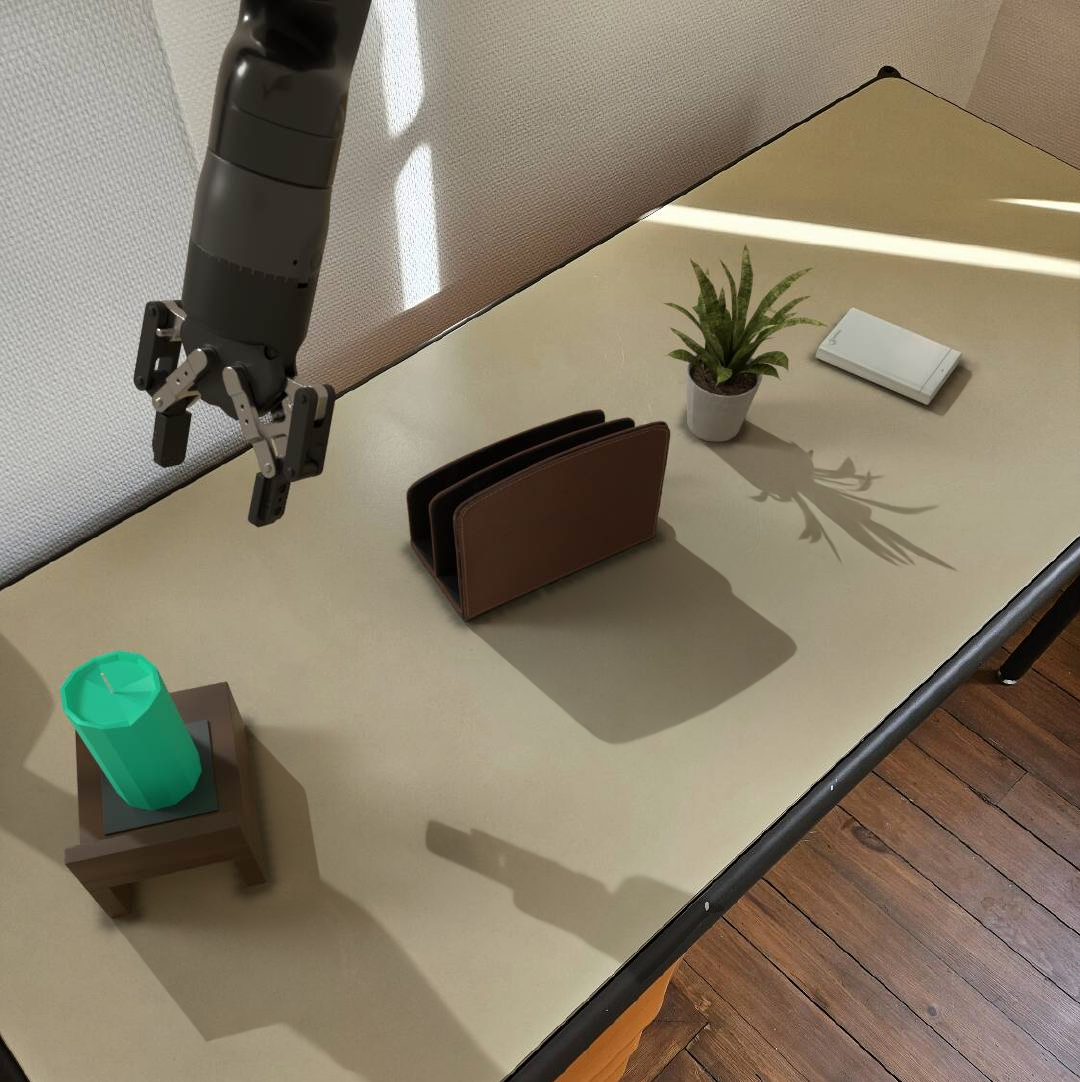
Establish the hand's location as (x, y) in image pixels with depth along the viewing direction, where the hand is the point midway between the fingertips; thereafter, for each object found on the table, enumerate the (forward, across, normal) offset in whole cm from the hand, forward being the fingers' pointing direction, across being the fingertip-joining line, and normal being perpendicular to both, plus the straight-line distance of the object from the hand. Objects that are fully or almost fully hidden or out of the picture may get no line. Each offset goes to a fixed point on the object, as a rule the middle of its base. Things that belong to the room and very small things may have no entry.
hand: (214, 493), depth 71 cm
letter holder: (+6, +11, +29) cm, 32 cm away
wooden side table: (+24, +5, -4) cm, 24 cm away
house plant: (-6, +17, +50) cm, 53 cm away
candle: (+18, +5, -7) cm, 20 cm away
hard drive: (-15, +26, +66) cm, 72 cm away
